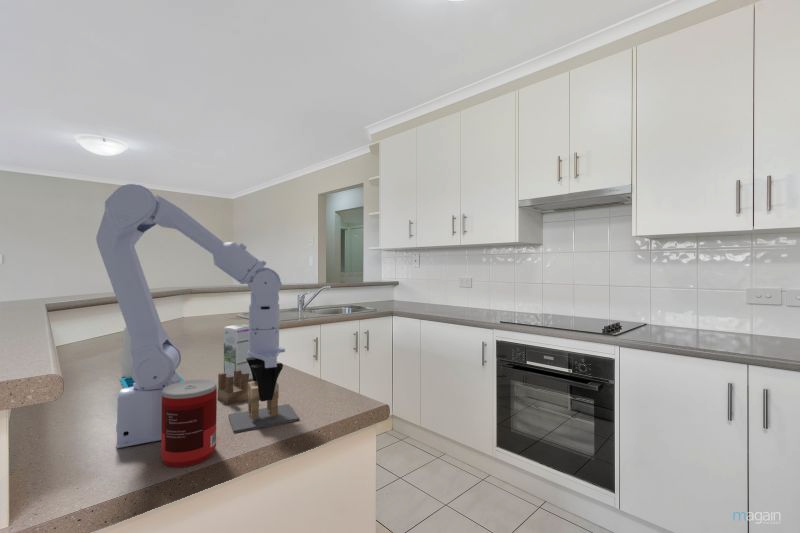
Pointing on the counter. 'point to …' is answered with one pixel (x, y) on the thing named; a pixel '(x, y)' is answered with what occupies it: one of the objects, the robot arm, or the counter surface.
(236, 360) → the syrup box
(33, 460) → the counter surface
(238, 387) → the upturned walnut stool
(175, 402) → the canned food
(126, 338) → the milk bottle
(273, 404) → the oak stool
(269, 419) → the mat
